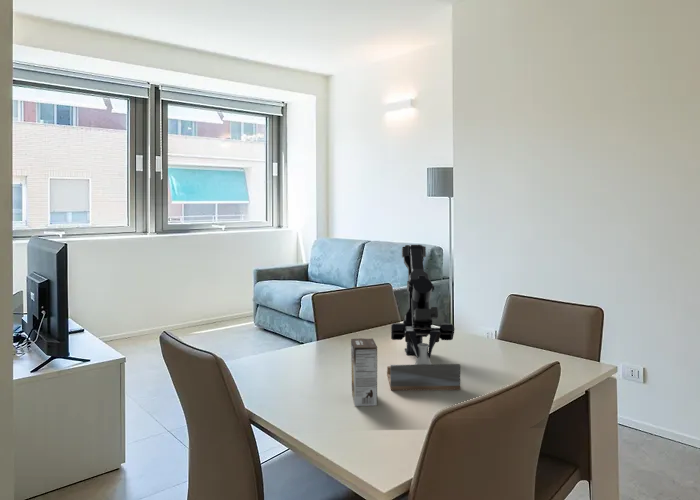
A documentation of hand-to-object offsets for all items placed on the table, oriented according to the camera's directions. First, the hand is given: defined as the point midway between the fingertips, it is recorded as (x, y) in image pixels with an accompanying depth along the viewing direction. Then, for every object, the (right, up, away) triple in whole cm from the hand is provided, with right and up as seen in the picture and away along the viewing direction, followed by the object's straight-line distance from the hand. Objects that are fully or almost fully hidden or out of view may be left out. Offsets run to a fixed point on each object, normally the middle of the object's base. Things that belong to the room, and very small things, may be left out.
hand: (423, 356), depth 153 cm
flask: (0, -7, +2) cm, 7 cm away
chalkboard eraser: (0, -8, +4) cm, 9 cm away
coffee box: (-18, -10, -10) cm, 23 cm away
